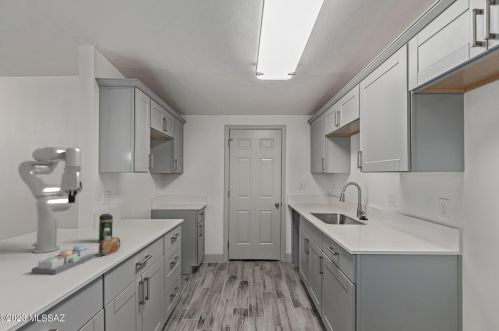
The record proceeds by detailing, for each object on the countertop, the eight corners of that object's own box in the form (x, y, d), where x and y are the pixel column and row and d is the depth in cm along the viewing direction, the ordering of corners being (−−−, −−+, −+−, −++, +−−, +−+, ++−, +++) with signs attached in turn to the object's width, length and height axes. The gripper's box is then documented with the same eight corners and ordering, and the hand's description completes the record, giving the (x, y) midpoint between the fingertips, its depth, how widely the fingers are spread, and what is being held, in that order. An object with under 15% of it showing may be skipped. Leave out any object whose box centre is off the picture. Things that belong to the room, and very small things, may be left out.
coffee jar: (98, 240, 184) (98, 213, 185) (111, 239, 188) (111, 212, 189) (99, 243, 176) (100, 215, 177) (112, 242, 180) (113, 214, 181)
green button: (41, 267, 123) (42, 261, 123) (51, 264, 128) (51, 257, 128) (51, 268, 123) (51, 261, 123) (60, 264, 128) (60, 258, 128)
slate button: (70, 254, 140) (71, 248, 140) (78, 251, 145) (78, 245, 145) (79, 254, 140) (79, 248, 140) (86, 251, 145) (86, 246, 145)
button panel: (55, 274, 121) (56, 263, 121) (31, 273, 122) (32, 261, 122) (94, 257, 145) (94, 248, 146) (74, 256, 147) (74, 247, 147)
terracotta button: (57, 258, 132) (57, 252, 132) (65, 256, 137) (65, 249, 137) (66, 259, 131) (66, 253, 131) (74, 256, 136) (74, 250, 136)
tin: (102, 257, 147) (102, 241, 147) (97, 257, 148) (97, 241, 148) (120, 250, 162) (121, 235, 162) (116, 249, 162) (116, 235, 163)
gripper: (55, 169, 148) (53, 203, 147) (79, 169, 146) (78, 203, 146) (66, 170, 156) (64, 202, 155) (89, 170, 154) (88, 202, 153)
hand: (71, 202), depth 150 cm, fingers closed
